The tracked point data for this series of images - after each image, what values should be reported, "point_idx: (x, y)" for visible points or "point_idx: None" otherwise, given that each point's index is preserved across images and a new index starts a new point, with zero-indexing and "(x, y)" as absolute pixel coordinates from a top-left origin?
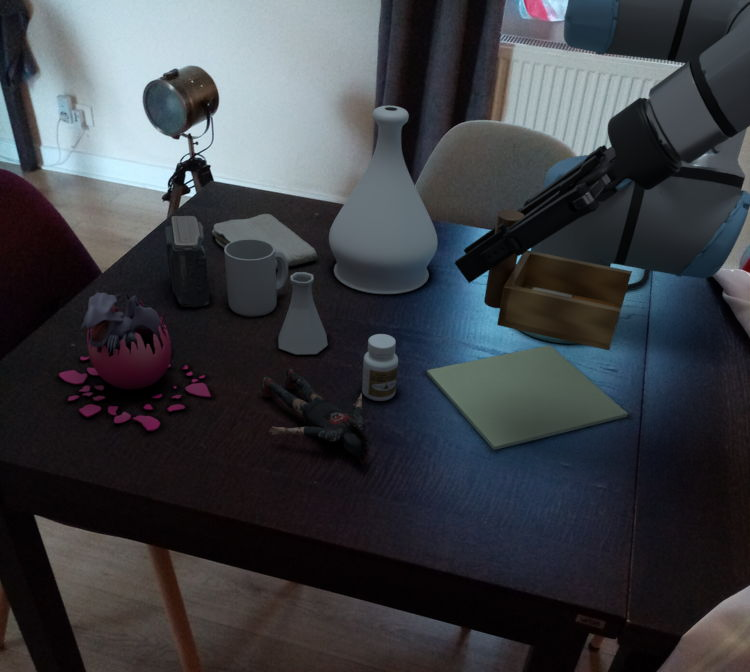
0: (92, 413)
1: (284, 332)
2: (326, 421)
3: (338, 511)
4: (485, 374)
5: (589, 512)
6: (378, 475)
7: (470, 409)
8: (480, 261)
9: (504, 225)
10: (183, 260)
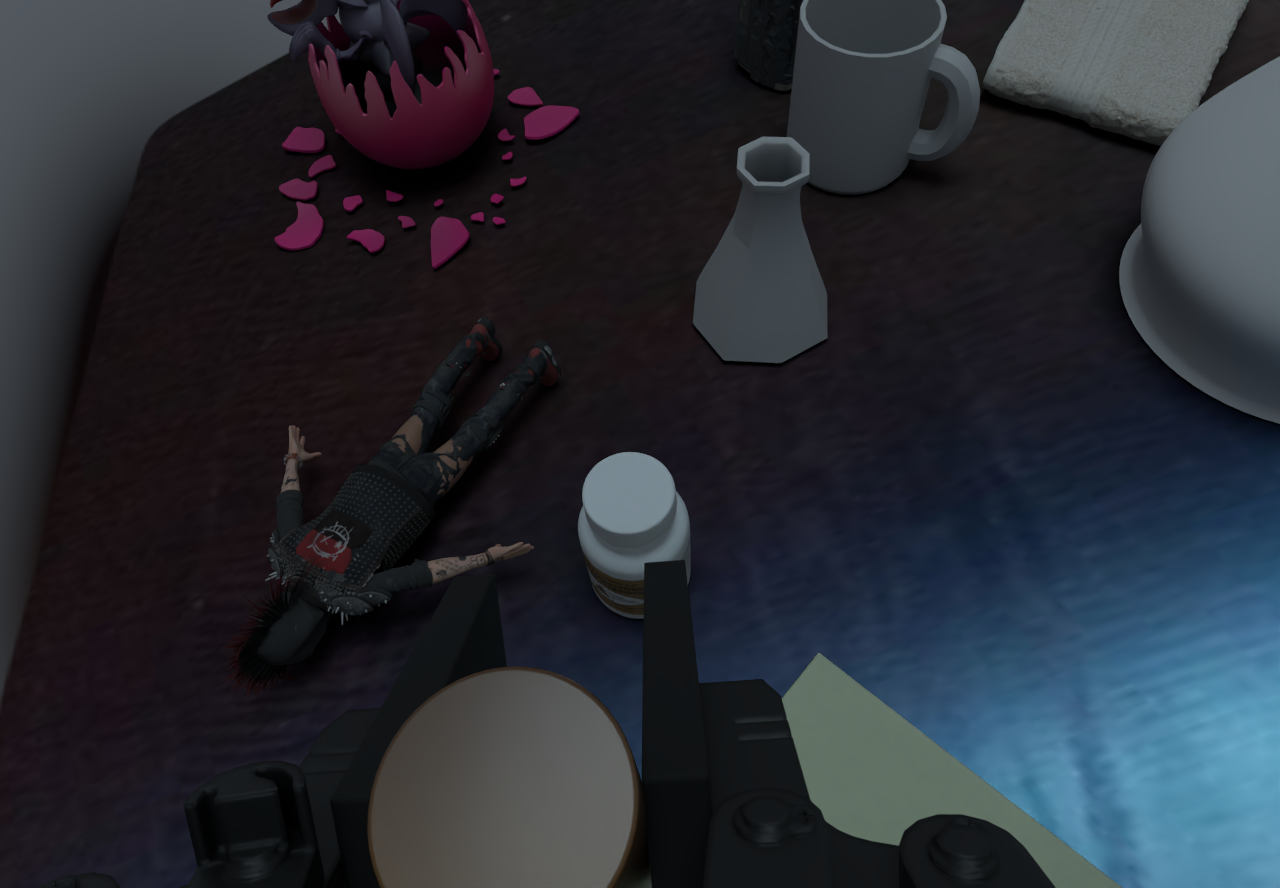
0: (296, 147)
1: (711, 259)
2: (310, 526)
3: (97, 705)
4: None
5: None
6: (265, 737)
7: None
8: None
9: (242, 817)
10: None
